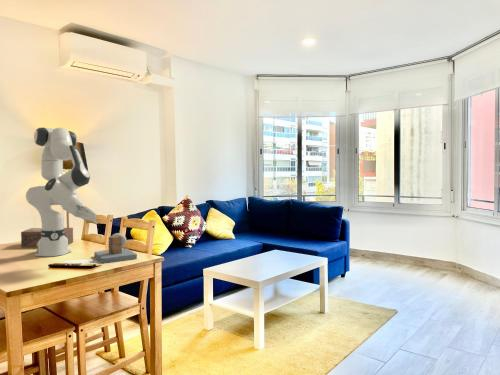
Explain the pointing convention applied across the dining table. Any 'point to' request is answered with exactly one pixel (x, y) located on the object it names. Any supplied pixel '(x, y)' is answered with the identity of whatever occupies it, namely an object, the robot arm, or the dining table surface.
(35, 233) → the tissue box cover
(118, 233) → the donut
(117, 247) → the walnut block
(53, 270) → the dining table surface
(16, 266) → the dining table surface
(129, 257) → the base board
